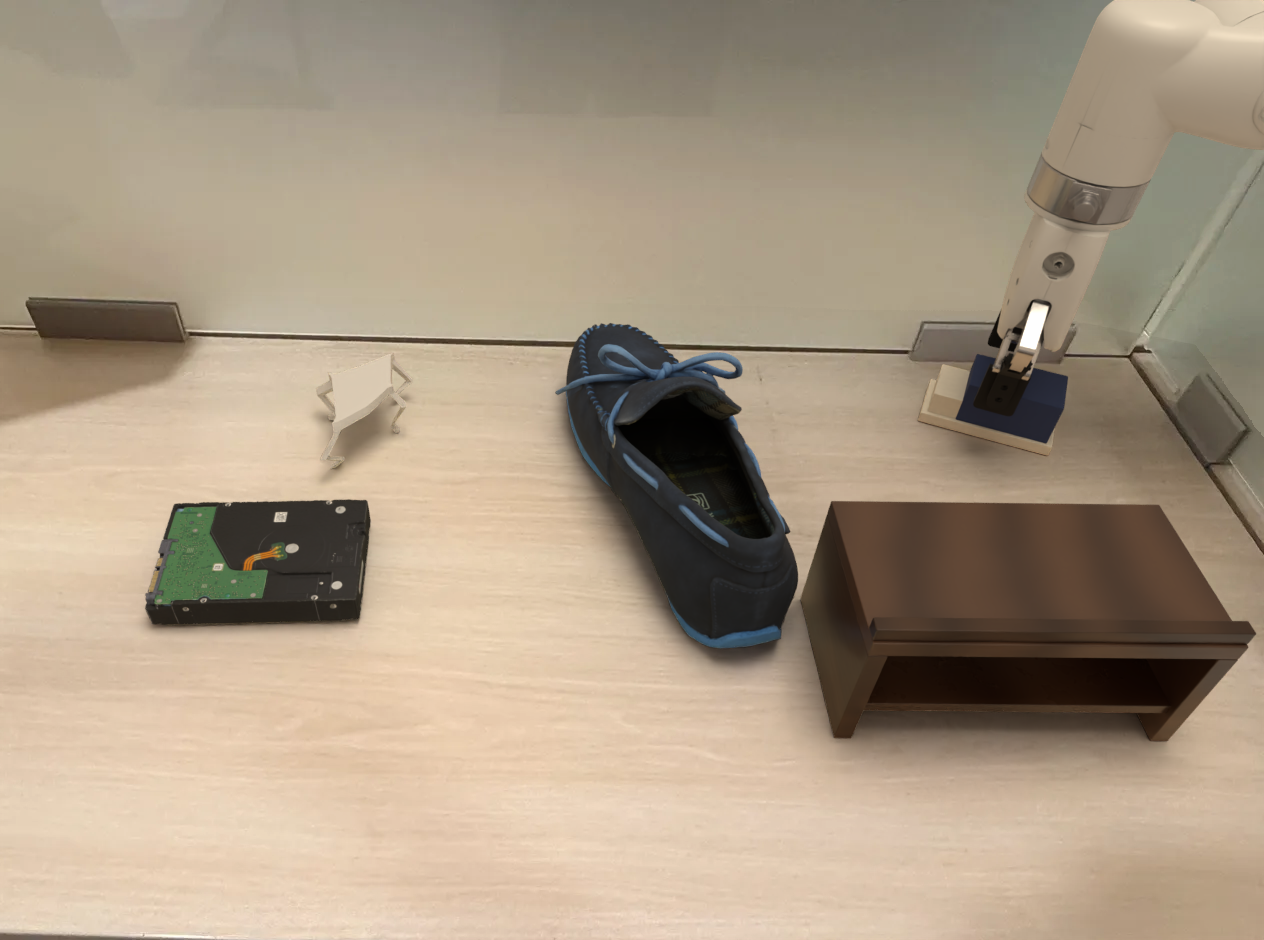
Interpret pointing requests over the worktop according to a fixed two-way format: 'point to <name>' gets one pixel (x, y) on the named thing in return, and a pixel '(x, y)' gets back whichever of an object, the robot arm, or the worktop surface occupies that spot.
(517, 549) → the worktop surface
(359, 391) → the cream bent-legged table
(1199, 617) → the shoe shelf
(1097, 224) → the robot arm
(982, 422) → the navy box on tray
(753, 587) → the moccasin
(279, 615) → the disk drive
